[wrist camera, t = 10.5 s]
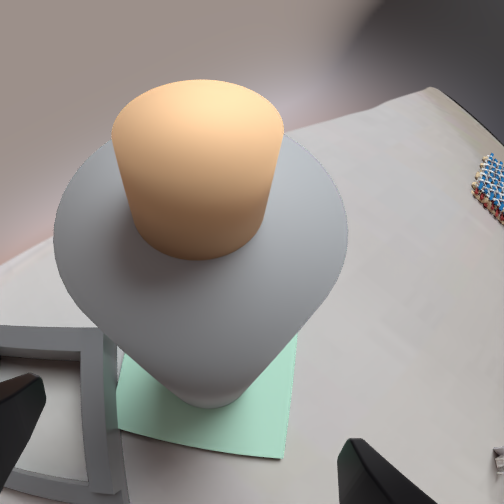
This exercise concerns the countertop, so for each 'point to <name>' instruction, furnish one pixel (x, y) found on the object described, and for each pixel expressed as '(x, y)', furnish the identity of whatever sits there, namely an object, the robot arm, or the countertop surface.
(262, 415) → the pad
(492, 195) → the woven mat
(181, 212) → the capped gray cylinder
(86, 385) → the gray square frame
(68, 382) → the countertop surface
